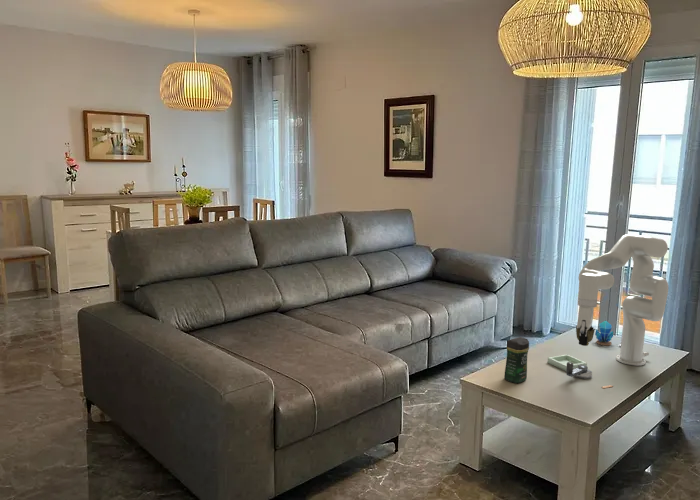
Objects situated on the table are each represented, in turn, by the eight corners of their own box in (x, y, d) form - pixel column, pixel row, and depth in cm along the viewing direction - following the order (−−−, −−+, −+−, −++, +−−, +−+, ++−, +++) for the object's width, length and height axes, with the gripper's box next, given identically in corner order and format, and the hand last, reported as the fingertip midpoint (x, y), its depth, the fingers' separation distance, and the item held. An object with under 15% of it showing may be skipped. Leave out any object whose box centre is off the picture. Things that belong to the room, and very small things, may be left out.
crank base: (568, 373, 242) (568, 369, 242) (581, 371, 245) (582, 366, 245) (582, 380, 235) (582, 375, 235) (595, 377, 238) (596, 373, 238)
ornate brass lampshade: (595, 348, 229) (596, 330, 228) (577, 347, 230) (578, 329, 229) (590, 342, 236) (592, 325, 235) (573, 341, 237) (574, 324, 236)
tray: (566, 359, 260) (567, 354, 260) (586, 368, 249) (587, 362, 249) (547, 362, 255) (547, 357, 255) (566, 371, 244) (567, 366, 244)
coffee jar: (517, 385, 228) (520, 343, 225) (501, 379, 234) (503, 338, 231) (530, 379, 234) (532, 338, 232) (514, 374, 240) (516, 334, 238)
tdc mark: (610, 385, 229) (610, 385, 229) (612, 386, 228) (612, 386, 228) (601, 387, 227) (601, 386, 227) (604, 388, 226) (604, 387, 226)
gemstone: (594, 340, 289) (596, 318, 287) (612, 342, 286) (614, 320, 284) (594, 344, 282) (596, 322, 280) (612, 346, 279) (615, 324, 277)
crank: (580, 368, 242) (581, 355, 242) (589, 370, 239) (590, 358, 238) (563, 375, 234) (564, 362, 233) (571, 378, 231) (572, 365, 230)
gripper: (581, 296, 239) (578, 335, 242) (574, 305, 225) (571, 346, 228) (599, 298, 235) (596, 338, 238) (593, 308, 221) (590, 350, 224)
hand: (584, 342), depth 233 cm, fingers closed on ornate brass lampshade, 6 cm apart
